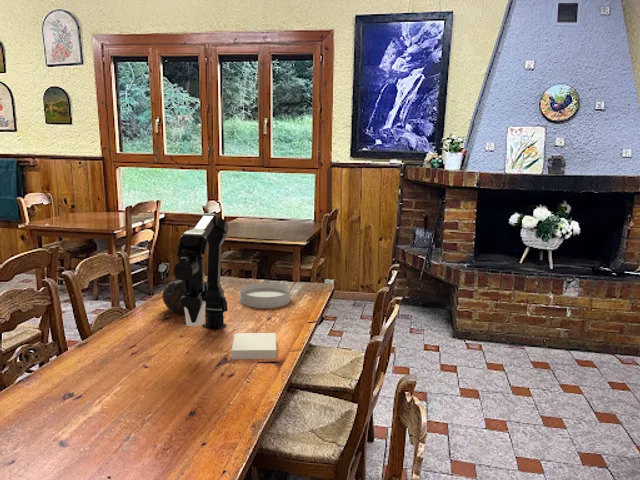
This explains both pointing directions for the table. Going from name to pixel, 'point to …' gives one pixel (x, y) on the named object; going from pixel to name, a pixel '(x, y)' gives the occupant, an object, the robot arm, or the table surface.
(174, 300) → the glass bottle
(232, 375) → the table surface
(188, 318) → the white cup
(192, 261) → the robot arm
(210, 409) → the table surface
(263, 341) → the base block
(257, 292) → the dish
